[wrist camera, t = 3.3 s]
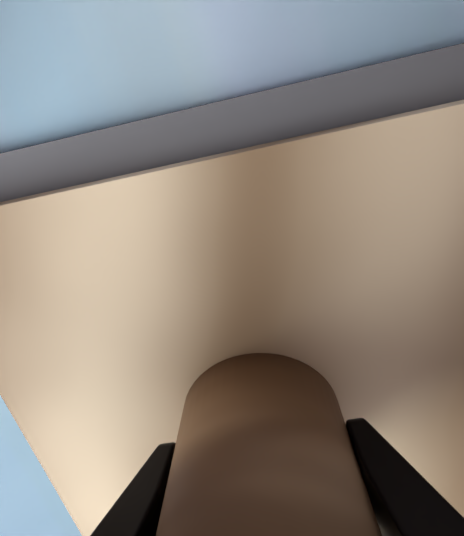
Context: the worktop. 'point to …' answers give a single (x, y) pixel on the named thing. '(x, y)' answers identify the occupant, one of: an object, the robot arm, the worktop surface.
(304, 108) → the mat
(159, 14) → the worktop surface
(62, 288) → the lid
